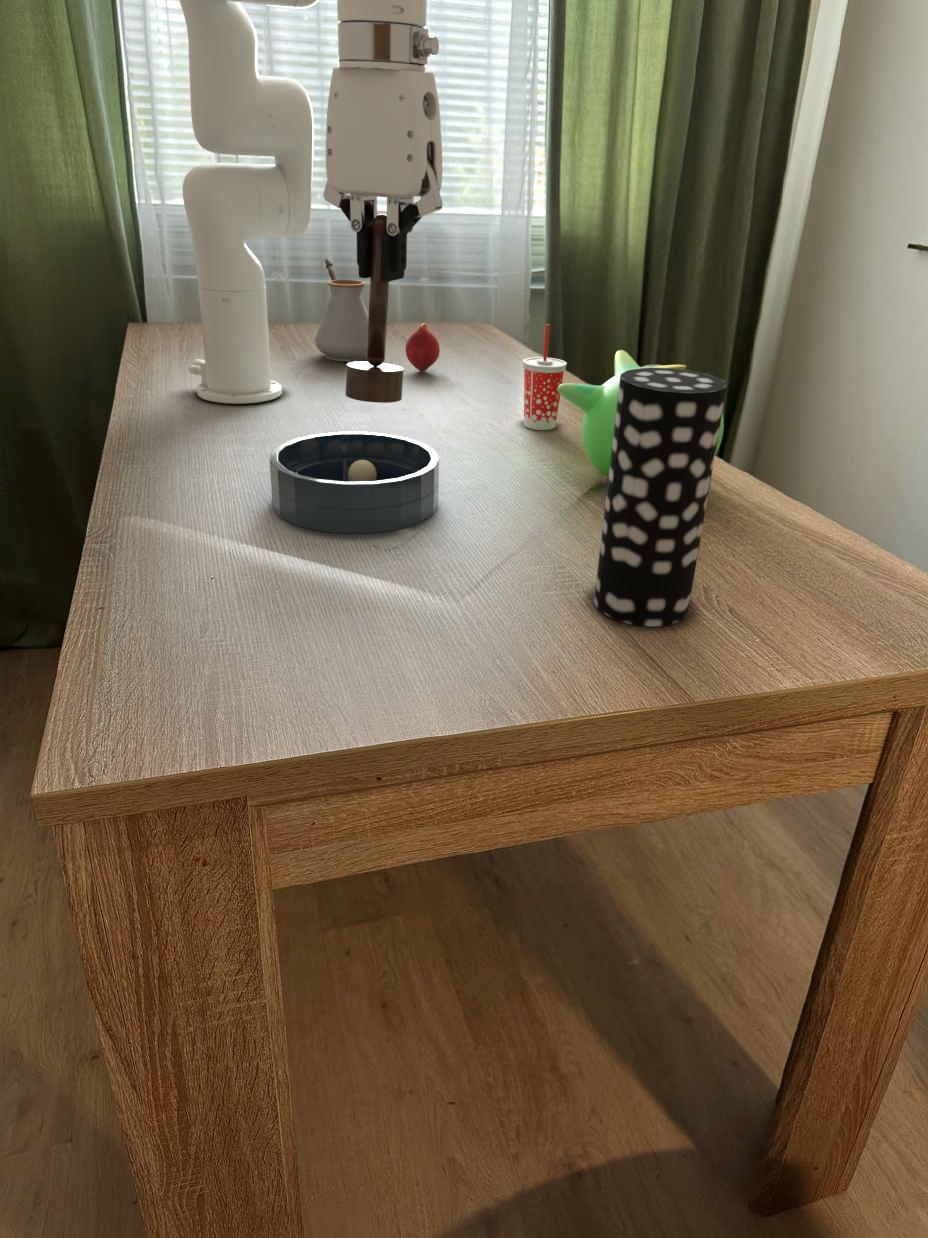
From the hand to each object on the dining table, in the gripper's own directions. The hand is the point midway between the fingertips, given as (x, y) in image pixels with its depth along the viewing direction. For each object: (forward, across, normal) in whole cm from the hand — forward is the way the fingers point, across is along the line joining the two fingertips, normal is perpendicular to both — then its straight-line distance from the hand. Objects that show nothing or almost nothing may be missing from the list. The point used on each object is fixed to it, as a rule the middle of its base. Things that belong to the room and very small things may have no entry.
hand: (381, 276), depth 88 cm
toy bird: (+24, -21, -26) cm, 41 cm away
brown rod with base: (+11, 0, +1) cm, 11 cm away
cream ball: (+23, +5, -4) cm, 24 cm away
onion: (+25, +29, -61) cm, 72 cm away
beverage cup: (+25, -1, -42) cm, 48 cm away
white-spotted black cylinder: (+24, -31, +6) cm, 40 cm away
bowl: (+24, +3, 0) cm, 24 cm away
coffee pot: (+26, +49, -66) cm, 86 cm away
